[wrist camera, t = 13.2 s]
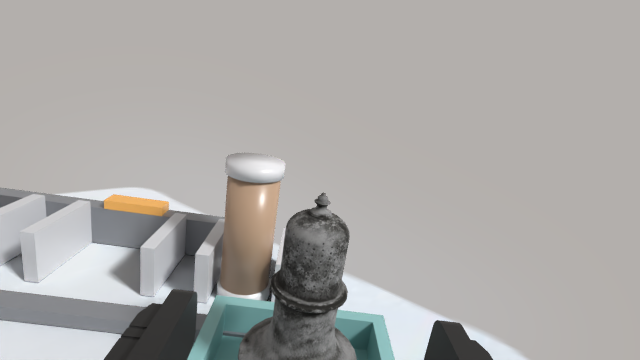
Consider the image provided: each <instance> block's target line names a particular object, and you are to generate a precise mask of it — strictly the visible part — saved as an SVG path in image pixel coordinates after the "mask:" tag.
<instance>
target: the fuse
mask: <svg viewBox="0 0 640 360" xmlns="http://www.w3.org/2000/svg"><path fill="white" fill-rule="evenodd" d="M284 171H285V162H284V161H283V160H281V159H279V158H276V157H273V156H268V155H263V154H255V153H236V154H231V155H228V156H227V158H226V169H225V173H226V174H227V175H228V181H227V195H226V208H225V221H224V235H223V248H222V262H221V275H220V276H219V277H218V280H217V295H220V296H228V297H237V298H245V299H253V300H261V301H266V300H267V299H268V297H269V295H270V283H271V280H270V277H269V274H270V265H271V257H272V249H273V240H274V232H275V223H276V215H277V206H278V197H279V189H280V181H281V180H282V179H283V178H284Z"/></svg>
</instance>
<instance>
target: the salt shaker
mask: <svg viewBox="0 0 640 360" xmlns="http://www.w3.org/2000/svg"><path fill="white" fill-rule="evenodd" d="M315 203H316V204H317V206H316V207H315V208H312V209H307V210H303V211H301V212H298V213H296V214H295V215H293V216H292V217H291V218H290V220H289V221H288V223H287V226H286V230H285V238H284V246H283V253H282V261H281V269H280V270H279V271H278V272H276V273H275V274H274V275H273V277H272V279H271V283H270V288H271V291H272V293H273V295H274V296H275V303H274V311H273V317H270V318H267V319H264V320H263V321H261V322H259V323H257V324H256V325H254V326H253V327H252V328H251V329H250V330H249V331H248V332H247V333H246V334H245V336H244V338H243V339H242V341H241V343H240V346H239V352H238V360H357V358H356V354H355V350H354V348H353V347H352V345H351V343H350V341H349V340H348V339H347V338H346V336H345V335H344V334H343V333H342V332H341V331H340V330H339V329H337V328H336V327H335V321H336V316H337V310H338V308H339V307H340V306H342V305H343V304H344V302H345V301H346V299H347V293H348V291H347V288H346V285H345V284H344V283H343V281H342V275H343V269H344V264H345V259H346V253H347V248H348V243H349V230H348V228H347V226H346V224H345V222H344V221H343V220H342V219H340V218H339V217H338V216H337V215H335V214H333V213H331V211H329V210H328V209H327V205H329V204H330V201H328V197H327V196H326V194H325V193H322V194H321V195H320V196H318V199H316V200H315Z"/></svg>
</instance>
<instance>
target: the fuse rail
mask: <svg viewBox="0 0 640 360" xmlns="http://www.w3.org/2000/svg"><path fill="white" fill-rule="evenodd" d="M168 209H169V202H166V201H159V200H151V199H144V198H137V197H129V196H122V195H112V196H110V197H109V198H107V199H105V200H104V201H97V200H90V199H82V198H75V197H67V196H60V195H52V194H45V193H37V192H30V191H22V190H15V189H7V188H0V266H1V265H3V264H4V263H6V262H8V261H9V260H11V259H13V258H14V257H16V256H17V255H19V254H21V253H22V262H23V271H24V281H29V282H37V283H39V282H40V281H41V280H43V279H44V278H45V277H47V276H48V275H49V274H51V273H52V272H53V271H55V270H56V269H57V268H59V267H60V266H61V265H63V264H64V263H65V262H67V261H68V260H69V259H71V258H72V257H73V256H75V255H76V254H77V253H79V252H80V251H81V250H83V249H84V248H85V247H87V246H88V245H89V244H91V243H92V242H93V243H100V244H108V245H116V246H124V247H132V248H140V295H144V296H152V297H154V296H155V295H156V293H157V292H158V290H159V289H160V288H161V286H162V285H163V284H164V282H165V281H166V280H167V278H168V277H169V275H170V274H171V273H172V271H173V270H174V269H175V267H176V266H177V265H178V263H179V262H180V260H181V259H182V258H183V256H184V255H185V254H187V255H195V271H194V292H197V302H201V303H207V301H208V299H209V297H210V295H211V293H212V290H213V288H214V286H215V284H216V282H217V280H218V277H219V276H220V274H221V262H222V248H223V235H224V221H225V217H218V216H210V215H203V214H195V213H188V212H180V211H173V210H168ZM285 230H286V227H284V230H283V234H282V239H281V243H280V248H279V252H278V257H277V261H276V267H275V273H276V272H278V271H279V270H280V269H281V261H282V253H283V246H284V238H285ZM271 302H275V296H274V295H273V293H272V299H271ZM145 308H146V307H139V306H130V305H122V304H114V303H105V302H97V301H89V300H81V299H72V298H64V297H56V296H47V295H39V294H31V293H22V292H14V291H6V290H0V320H8V321H16V322H25V323H34V324H42V325H51V326H59V327H68V328H76V329H85V330H94V331H102V332H111V333H119V334H123V333H124V331H125V330H126V329H127V328H128V327H129V325H130V323H131V322H132V321H133V319H134V318H135V317H136V315H137V314H138V313H139V312H140V311H142V310H143V309H145ZM206 317H207V315H205V314H197V315H196V332H195V338H194V342H195V341H196V339H197V337H198V335H199V332H200V330H201V328H202V326H203V324H204V322H205V319H206ZM245 334H246V333H240V332H232V331H223V335H225V336H233V337H241V338H244V336H245Z"/></svg>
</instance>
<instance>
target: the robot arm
mask: <svg viewBox="0 0 640 360" xmlns="http://www.w3.org/2000/svg"><path fill="white" fill-rule="evenodd" d="M196 315H197V292H194V291H185V290H177V289H173V290H172V291H171V292H170V294H169V295H168V297H167V298H166V300H165V301H164V303H163V304H155V303H152V304H151V305H149V306H148V307H146V308H145V309H143V310H142V311H140V312H139V313H138V314H137V315H136V317H135V318H134V319H133V321H132V322H131V323H130V325H129V327H128V328H127V329H126V330H125V331H124V333H123V334H122V335H121V338H119V340H118V341H117V342H116V344H115V345H114V346H113V348H112V349H111V350H110V352H109V353H108V354H107V356H106V357H105V358H104V360H187V359H188V356H189V354H190V352H191V349H192V346H193V343H194V338H195V332H196ZM424 360H493V359H492V357H491V356H490V354H489V353H488V352H487V351H486V350H485V349H484V348H483V347H482V346H481V345H480V344H479V343H478V342H476V341H474V340H470V339H469V337H468V335H467V333H466V332H465V330H464V328H463V327H462V325H461V324H460V323H456V322H447V321H439V320H437V321H435V323H434V325H433V328H432V332H431V336H430V339H429V343H428V346H427V350H426V354H425V358H424Z"/></svg>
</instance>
